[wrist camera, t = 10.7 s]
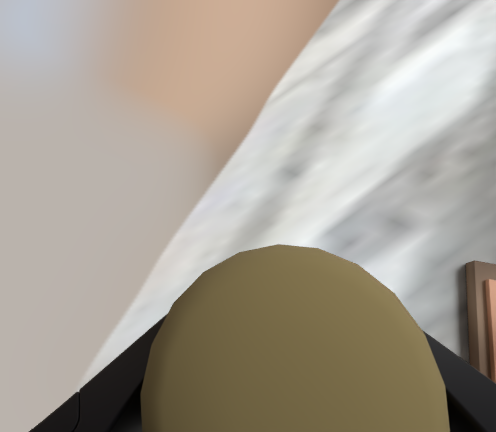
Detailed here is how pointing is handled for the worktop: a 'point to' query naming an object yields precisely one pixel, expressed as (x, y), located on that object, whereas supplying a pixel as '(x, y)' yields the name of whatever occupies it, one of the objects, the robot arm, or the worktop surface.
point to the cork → (291, 352)
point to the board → (482, 316)
